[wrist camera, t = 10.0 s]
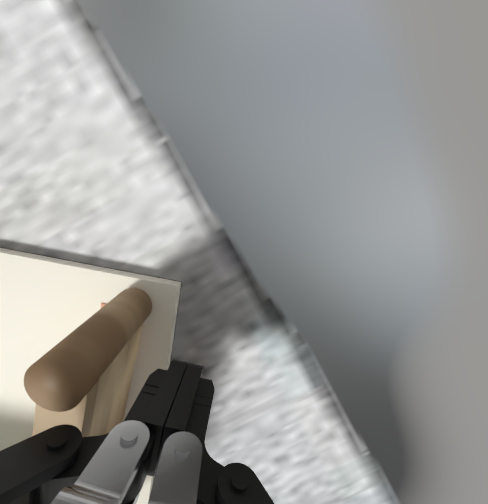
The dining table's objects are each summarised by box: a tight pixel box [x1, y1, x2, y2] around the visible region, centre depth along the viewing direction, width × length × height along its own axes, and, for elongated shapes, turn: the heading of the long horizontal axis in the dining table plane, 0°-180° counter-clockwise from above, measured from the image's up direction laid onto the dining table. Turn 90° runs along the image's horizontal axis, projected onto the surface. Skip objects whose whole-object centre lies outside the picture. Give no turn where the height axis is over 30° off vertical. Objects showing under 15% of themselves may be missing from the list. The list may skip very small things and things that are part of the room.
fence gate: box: [24, 288, 152, 437], centre depth 12 cm, size 12×2×6 cm, turn 165°
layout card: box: [0, 248, 181, 504], centre depth 17 cm, size 20×18×1 cm
